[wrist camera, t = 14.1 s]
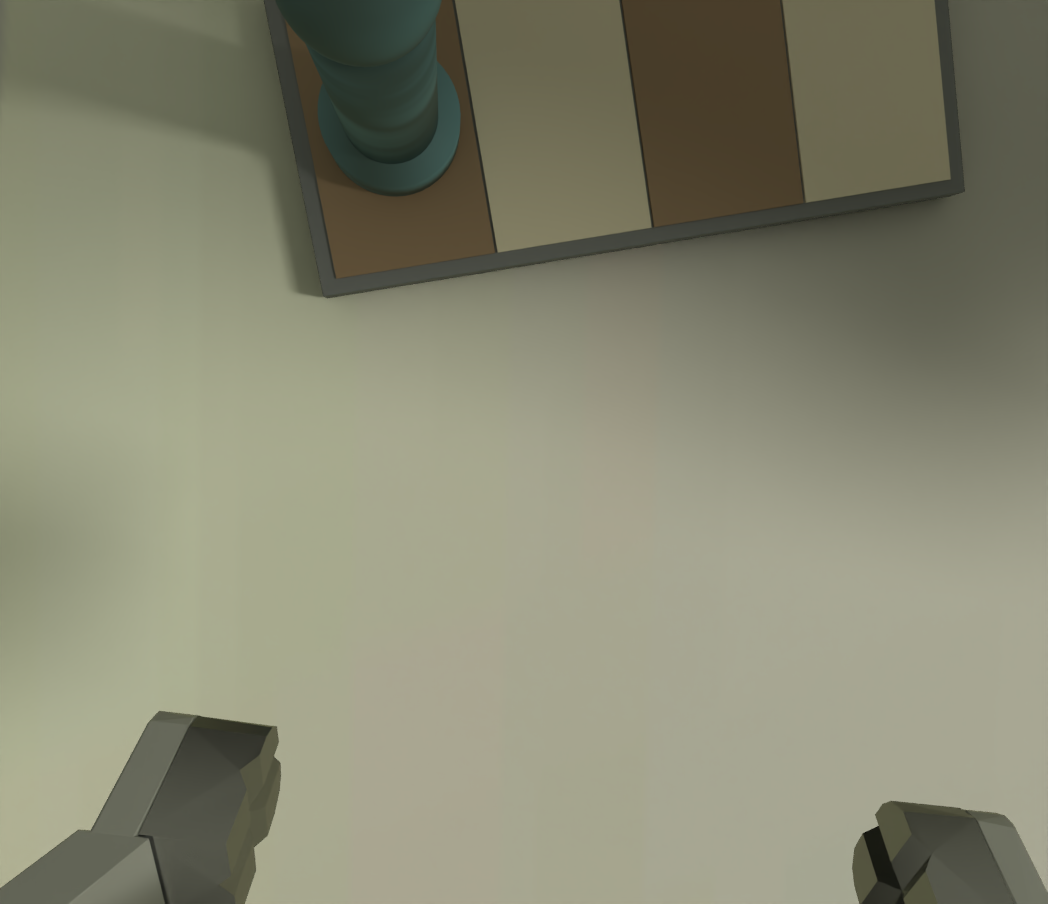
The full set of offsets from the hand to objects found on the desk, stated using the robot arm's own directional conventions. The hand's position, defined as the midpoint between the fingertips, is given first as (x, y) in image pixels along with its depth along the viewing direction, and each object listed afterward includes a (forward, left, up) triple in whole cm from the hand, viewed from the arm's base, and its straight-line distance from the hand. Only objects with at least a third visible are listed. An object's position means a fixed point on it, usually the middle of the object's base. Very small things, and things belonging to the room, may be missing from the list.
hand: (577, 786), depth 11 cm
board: (-7, -14, -19) cm, 24 cm away
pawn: (+1, -14, -18) cm, 22 cm away
